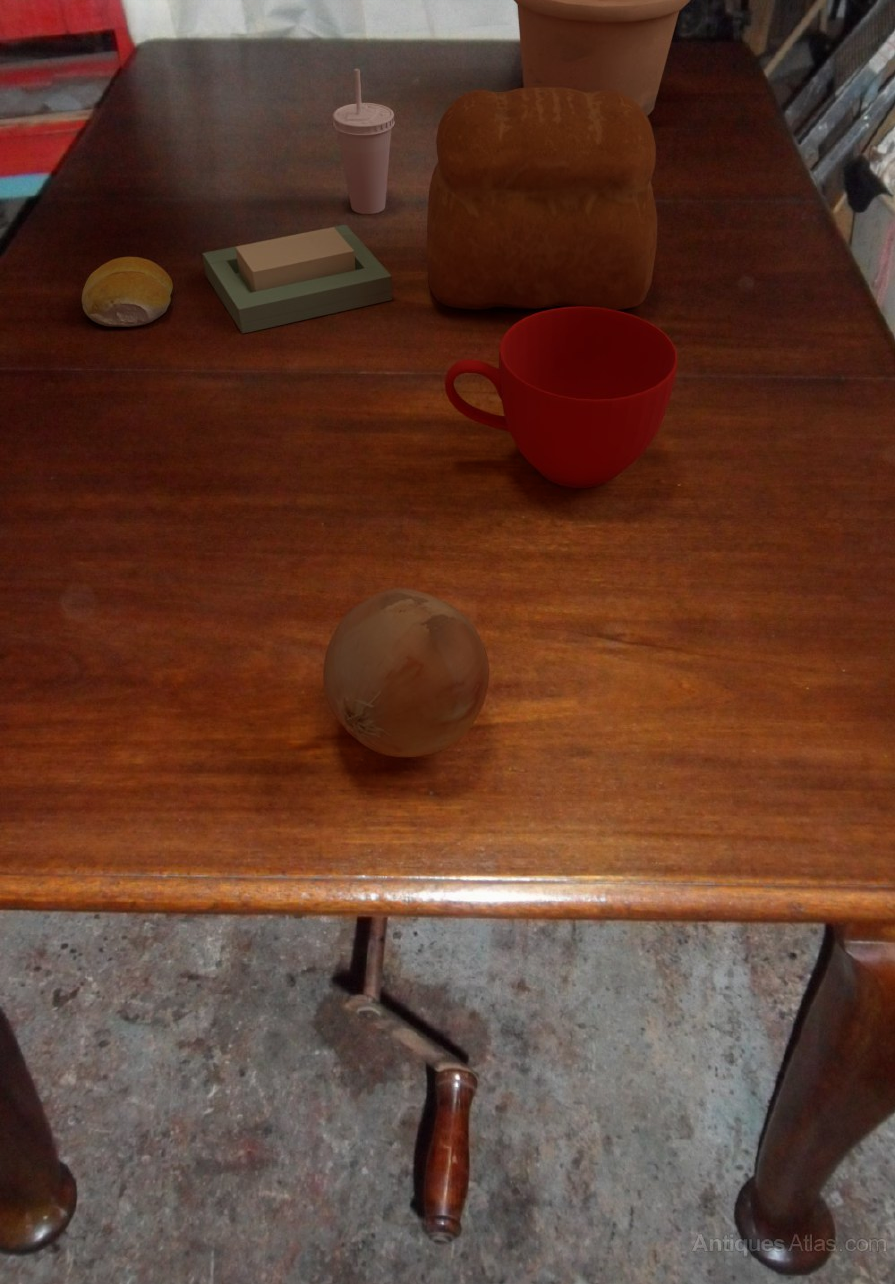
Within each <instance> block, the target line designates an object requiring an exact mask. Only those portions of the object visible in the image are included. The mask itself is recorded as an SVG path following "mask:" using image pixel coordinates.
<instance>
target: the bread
mask: <svg viewBox="0 0 895 1284" xmlns="http://www.w3.org/2000/svg"><path fill="white" fill-rule="evenodd" d="M436 132H437V134H436V139H435V144H436V155H437V162H436V165H435V167H434V169H433V172H432V176H431V179H430V183H429V191H428V200H427V202H428V203H427V221H426V269H427V276H428V277H427V279H428V285H429V286H428V287H429V288H430V289H429V290H430V291H431V293H432V295H433V297H434V298H435V299H436V300H437V301H438V302H439V303H440V304H442V305H444V306H445V307H449V308H454V309H460V310H461V309H462V310H489V309H493V308H497V307H502V308H510V309H525V310H527V309H528V310H535V309H536V310H537V309H545V308H554V307H561V306H563V307H582V306H583V307H598V308H605V309H611V310H616V311H620V310H625V309H631V308H636V307H637V306H639V305H641V304H642V303H644V302H645V299H646V297H647V294H648V292H649V290H650V287H651V285H652V282H653V273H654V266H655V261H656V252H657V246H658V245H657V242H658V211H657V206H656V202H655V196H654V190H653V185H652V181H651V180H652V178H653V174H654V171H655V167H656V160H657V146H656V140H655V137H654V131H653V127H652V124H651V122H650V119H649V117H648V116H647V115H646V114H645V112H644V111H643V110H642V109H641V108H640V106H639V105H638V104H637V103H636V102H635V101H634V100H633V99H631V98H630V97H629V96H627V95H625V94H623V93H621V92H617V91H614V90H601V91H595V92H589V93H585V92H582V91H579V90H575V89H570V88H563V87H527V88H524V87H518V88H515V89H511V90H506V91H500V92H495V91H491V90H486V89H475V90H471V91H468V92H466V93H463V94H462V95H460V96H459V97H458V98H456V99H455V100H454V101H453V102H452V103H451V104H450V105H449V106H448V108H447V109H446V110H445V111H444V112H443V114H442V116H441V118H440V120H439V123H438V127H437V131H436Z"/></svg>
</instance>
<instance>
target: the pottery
mask: <svg viewBox="0 0 895 1284" xmlns="http://www.w3.org/2000/svg"><path fill="white" fill-rule="evenodd" d="M513 2H515V4H516V6H517V17H518V19H517V20H518V30H519V44H520V45H519V46H520V55H521V56H520V57H521V58H520V59H521V70H522V82H523V84H522V85H523V88H527V87H563V88H570V89H575V90H579V91H582V92H585V93H589V92H595V91H601V90H614V91H617V92H621V93H623V94H625V95H627V96H629V97H630V98H631V99H633V100H634V101H635V102H636V103H637V104H638V105H639V106H640V108H641V109H642V110H643V111H644V112H645V114H646V115H647V117H648V116H649V115H650V114H651V113H652V112H653V111H654V110H655V105H656V100H657V96H658V93H659V89H660V85H661V81H662V78H663V74H664V70H665V67H666V63H667V59H668V55H669V53H670V52H669V51H670V47H671V44H672V39H673V36H674V32H675V30H676V29H675V28H676V24H677V22H678V17H679V14H680V11H681V10H682V9H683V8H684V7H686V6H687V5H688V4H689V3H690V2H691V0H513Z"/></svg>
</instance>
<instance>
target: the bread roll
mask: <svg viewBox="0 0 895 1284" xmlns="http://www.w3.org/2000/svg"><path fill="white" fill-rule="evenodd" d="M173 288H174V285H173V281H172V278H171V276H170V275H169V274H168V272H167V271H166V270H165V269H164V268H163V267H161V266H160V265H158V264H157V263H156V262H154V261H152V260H150V259H146V258H143V257H139V256H123V257H117V258H114V259H111V260H109V261H107V262H105V263H104V264H102V265H100V266H99V267H98V268H97V269H95V270H94V271H93V272H91V274H90V275H89V276H88V278H87V279H86V282H85V284H84V287H83V289H82V295H81V304H82V309H83V311H84V313H85V315H86V316H87V317H88V318H89V319H90V320H91V321H92V322H93V323H96V324H98V325H101V326H104V327H112V328H113V327H115V328H116V327H119V328H121V327H122V328H123V327H124V328H132V327H140V326H144V325H148V324H150V323H153V322H154V321H155V320H157V319H159V318H160V317H161V316H162V315H164V314H165V313H166V312H167V310H168V307H169V305H170V303H171V301H172V298H171V295H172V292H173Z"/></svg>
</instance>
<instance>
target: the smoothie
mask: <svg viewBox="0 0 895 1284" xmlns="http://www.w3.org/2000/svg"><path fill="white" fill-rule="evenodd" d="M353 72H354V91H355V103H351V104H345V105H342V106H341V107H339V108H337V109H335V110H334V112H333V113H332V121H333V122H332V125H333V128H335V130H336V132H337V138H338V143H339V147H340V154H341V160H342V164H343V170H344V176H345V180H346V186H347V192H348V197H349V202H350V207H351V210H352V211H353V212H355V213H357V214H361V215H374V214H378V213H381V212H383V211H384V210H385V209H386V202H387V201H386V200H387V188H388V178H389V177H388V176H389V175H388V174H389V166H390V165H389V164H390V149H391V139H392V129H393V128H394V127H395V124H396V121H395V113H394V111H393V110H392V108H390V107H388V106H385V105H383V104H380V103H371V102H362V87H361V86H362V85H361V84H362V83H361V69H360V68H354V70H353Z"/></svg>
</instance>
